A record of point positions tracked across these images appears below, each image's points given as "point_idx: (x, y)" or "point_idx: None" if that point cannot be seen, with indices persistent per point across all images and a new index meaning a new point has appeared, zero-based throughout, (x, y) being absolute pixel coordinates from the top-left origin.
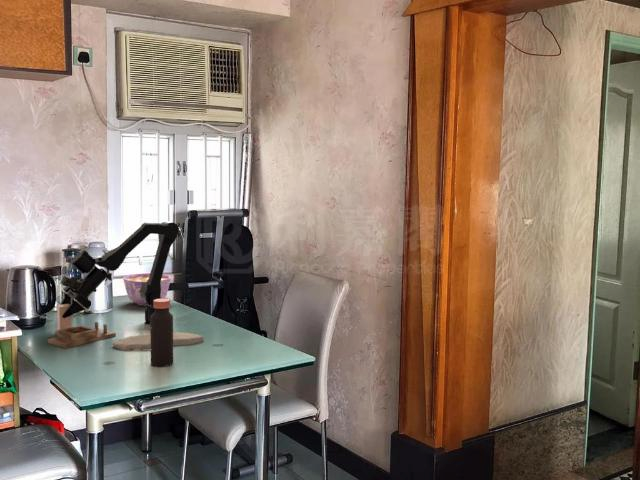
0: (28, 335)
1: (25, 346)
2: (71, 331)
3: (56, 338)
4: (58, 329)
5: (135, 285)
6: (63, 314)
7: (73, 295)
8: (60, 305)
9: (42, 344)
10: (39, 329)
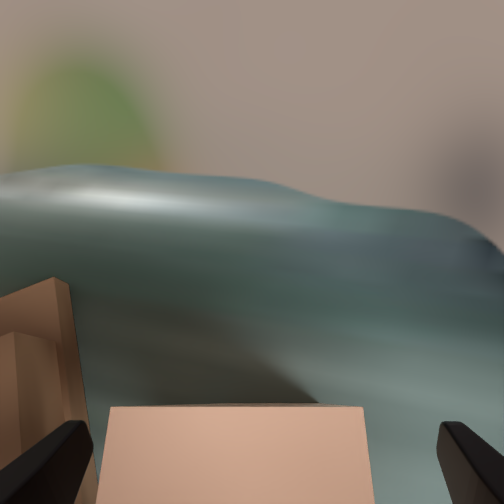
0: (311, 206)
1: (79, 175)
2: None
3: (33, 332)
4: (278, 403)
5: None
6: (39, 443)
7: None
8: (270, 478)
9: (57, 252)
10: (471, 289)
